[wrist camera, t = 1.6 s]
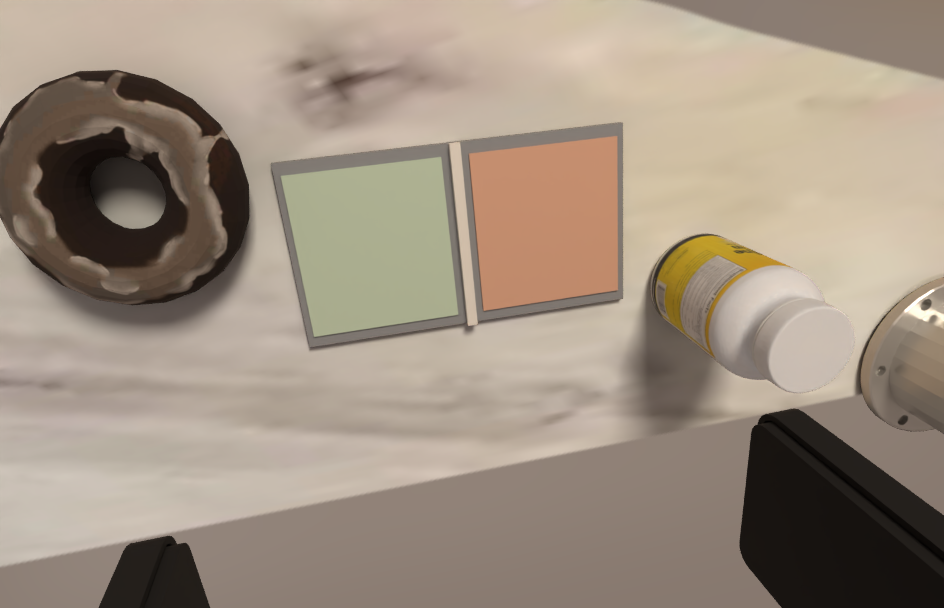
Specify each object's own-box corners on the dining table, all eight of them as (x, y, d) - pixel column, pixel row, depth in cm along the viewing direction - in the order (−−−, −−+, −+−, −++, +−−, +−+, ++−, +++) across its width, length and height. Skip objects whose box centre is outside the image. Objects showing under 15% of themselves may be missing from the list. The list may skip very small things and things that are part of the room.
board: (620, 122, 36) (626, 123, 35) (620, 296, 40) (626, 301, 39) (271, 162, 33) (269, 165, 32) (310, 344, 37) (309, 350, 36)
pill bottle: (749, 291, 41) (886, 367, 31) (666, 340, 42) (774, 432, 31) (718, 211, 39) (855, 263, 28) (630, 263, 39) (734, 335, 28)
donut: (270, 280, 35) (260, 304, 32) (51, 298, 34) (14, 326, 30) (236, 67, 31) (220, 65, 28) (-16, 75, 30) (-69, 75, 26)
